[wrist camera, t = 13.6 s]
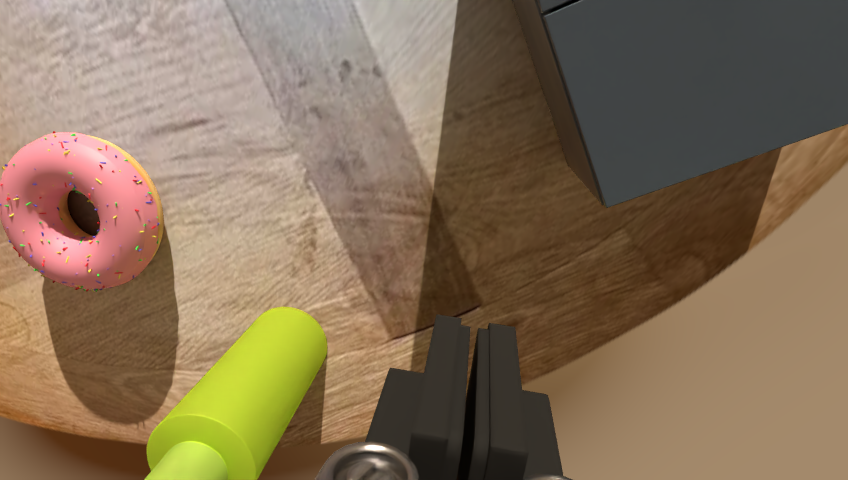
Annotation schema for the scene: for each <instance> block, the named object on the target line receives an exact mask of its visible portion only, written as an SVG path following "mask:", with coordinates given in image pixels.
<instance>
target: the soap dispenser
mask: <svg viewBox="0 0 848 480" xmlns="http://www.w3.org/2000/svg"><path fill="white" fill-rule="evenodd" d="M326 354H327V340H326V336H325V334H324V331H323V330H322V328H321V326H320V325H319V324H318V322H317V321H316V320H315V319H314V318H312V317H311V316H310V315H308V314H307V313H305V312H303V311H301V310H298V309H295V308H291V307H278V308H273V309H270V310H268V311H266V312H264V313H263V314H262V315H260V316H259V317H258V318H257V320H256V321H255V322H254V323H253V324H252V325H251V326H250V327H249V328H248V329H247V330H246V331H245V332H244V334H243V335H242V336H241V337H240V338H239V339H238V340H237V341H236V342H235V343H234V344H233V345H232V346H231V347H230V349H229V350H228V351H227V352H226V353H225V354H224V355H223V356H222V357H221V358H220V359H219V360H218V361H217V362H216V364H215V365H214V366H213V367H212V368H211V369H210V370H209V371H208V372H207V373H206V374H205V375H204V376H203V377H202V379H201V380H200V381H199V382H198V383H197V384H196V385H195V386H194V387H193V388H192V389H191V390H190V391H189V393H188V394H187V395H186V396H185V397H184V398H183V399H182V400H181V401H180V402H179V403H178V404H177V405H176V406H175V408H174V409H173V410H172V411H171V412H170V413H169V414H168V415H167V416H166V417H165V418H164V419H163V420H162V421H161V423H160V424H159V425H158V426H157V427H156V428H155V429H154V431H153V432H152V434H151V436H150V438H149V441H148V444H147V459H148V463H149V467H150V469H151V472H150V474H149V475H148V476H147V477H146V478H145V479H144V480H257V479H258V477H259V475H260V474H261V472H262V470H263V468H264V467H265V464H266V463H267V461H268V459H269V457H270V456H271V454H272V452H273V451H274V449H275V447H276V445H277V444H278V442H279V440H280V438H281V436H282V435H283V433H284V431H285V429H286V428H287V426H288V424H289V422H290V421H291V419H292V417H293V415H294V413H295V412H296V410H297V408H298V406H299V405H300V403H301V401H302V399H303V397H304V396H305V394H306V392H307V390H308V389H309V387H310V385H311V383H312V382H313V380H314V378H315V376H316V374H317V373H318V371H319V369H320V367H321V366H322V364H323V362H324V360H325V358H326Z"/></svg>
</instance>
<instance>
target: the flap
mask: <svg viewBox="0 0 848 480" xmlns="http://www.w3.org/2000/svg"><path fill="white" fill-rule="evenodd" d="M543 18H544V21H545V25H546V28H547V31H548V34H549V37H550V40H551V43H552V46H553V49H554V52H555V55H556V58H557V61H558V64H559V67H560V71H561V74H562V77H563V80H564V83H565V86H566V89H567V92H568V95H569V98H570V101H571V104H572V107H573V110H574V113H575V117H576V120H577V123H578V126H579V129H580V132H581V135H582V138H583V141H584V144H585V147H586V150H587V153H588V156H589V159H590V163H591V166H592V169H593V172H594V175H595V178H596V181H597V184H598V187H599V190H600V193H601V196H602V199H603V202H604V205H605V207H606V208H608V207H611V206H614V205H616V204H619V203H622V202H625V201H628V200H631V199H634V198H637V197H639V196H642V195H645V194H648V193H651V192H654V191H657V190H660V189H662V188H665V187H668V186H671V185H674V184H677V183H680V182H683V181H685V180H688V179H691V178H694V177H697V176H700V175H703V174H706V173H708V172H711V171H714V170H717V169H720V168H723V167H726V166H729V165H731V164H734V163H737V162H740V161H743V160H746V159H749V158H752V157H754V156H757V155H760V154H763V153H766V152H769V151H772V150H775V149H777V148H780V147H783V146H786V145H789V144H792V143H795V142H798V141H800V140H803V139H806V138H809V137H812V136H815V135H818V134H821V133H823V132H826V131H829V130H832V129H835V128H838V127H841V126H844V125H846V124H848V0H580V1H578V2H576V3H573V4H571V5H569V6H567V7H564V8H562V9H560V10H557V11H555V12H553V13H550V14H548V15H546V16H544V17H543Z"/></svg>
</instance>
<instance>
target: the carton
mask: <svg viewBox="0 0 848 480" xmlns="http://www.w3.org/2000/svg"><path fill="white" fill-rule="evenodd" d="M512 1H513V4H514V7H515V10H516V13H517V16H518V19H519V22H520V25H521V28H522V31H523V34H524V37H525V40H526V43H527V45H528V48H529V51H530V54H531V57H532V60H533V63H534V66H535V69H536V72H537V75H538V78H539V81H540V84H541V87H542V90H543V93H544V96H545V99H546V102H547V104H548V107H549V110H550V113H551V116H552V119H553V122H554V125H555V128H556V131H557V134H558V137H559V140H560V143H561V146H562V149H563V152H564V155H565V158H566V160H567V163H568V166H569V167H570V168H571V169H572V171H573V172H574V173H575V174H576V175H577V176H578V178H579V179H580V180H581V181H582V182H583V183H584V185H585V186H586V187H587V188H588V189H589V190H590V192H591V193H592V194H593V195H594V196H595V197H596V199H597V200H598V201H599V202H600V203H601V204H602V205H604V202H603V199H602V196H601V193H600V190H599V187H598V184H597V181H596V178H595V175H594V172H593V169H592V166H591V163H590V159H589V156H588V153H587V150H586V147H585V144H584V141H583V138H582V135H581V132H580V129H579V126H578V123H577V120H576V117H575V113H574V110H573V107H572V104H571V101H570V98H569V95H568V92H567V89H566V86H565V83H564V80H563V77H562V74H561V71H560V67H559V64H558V61H557V58H556V55H555V52H554V49H553V46H552V43H551V40H550V37H549V34H548V31H547V28H546V25H545V21H544V18H543V17H544V16H546V15H548V14H550V13H553V12H555V11H557V10H560V9H562V8H564V7H567V6H569V5H571V4H573V3H576V2H578V1H580V0H512Z"/></svg>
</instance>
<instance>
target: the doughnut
mask: <svg viewBox="0 0 848 480" xmlns="http://www.w3.org/2000/svg"><path fill="white" fill-rule="evenodd" d="M5 166H6V168H4V167H2V168H3V169H4V172H3V175H2V178H1V181H0V218H1V221H2V224H3V227H4V230H5V232H6V234H7V236H8V238H9V242H10V243H12V245H13V246H14V247H13V248H14V249H15V250H16V251H17V252H18V253H19V257H20V256H22V258H23V259H24V260H25V261H26V262H27V263H28V266H30V265H31V266H32V267H33V268H34V271H36V270H37V271H38V272H40V273H41V274H42V275H41V276H46V277H48V278H50V279H52V280H54V281H53V283H54V282H55V281H56V282H58V283H61V284H63V285H67V286H70V287H75V288H76V289H75V290H77V289H79V288H80V289H83V290H84V291H88V290H89V289H92V291H93V292H94V291H96V292H97V290H98V289H100V290H102V289H103V288H112V287H113V286H118V285H121V284H124V283H126V282H128V281H130V280H132V279H134V278H135V277H136V276H138V275H139V274H140V273H141V272H142V271H143V270H144V269H145V267H146V266H147V265H148V264H149V262H150V261H151V260H152V258H153V257H154V255H155V254H156V252H157V250H158V248H159V245H160V242H161V239H162V234H163V226H164V219H163V210H162V205H161V201H160V198H159V195H158V192H157V190H156V188H155V186H154V184H153V182H152V180H151V179H150V177H149V176H148V174H147V173H146V171H145V170H144V169H143V168H142V167H141V165H140V164H139V163H138V162H137V161H136V160H135V159H134V158H133V157H131V156H130V155H129V154H128V153H126V152H125V151H124V150H122V149H121V148H119V147H117V146H116V145H114V144H112V143H110V142H108V141H105V140H103V139H100V138H97V137H93V136H89V135H84V134H81V133H74V132H62V133H55V131H53V134H48V135H45V136H43V137H41V138H39V139H37V140H35V141H33V142H31V143H29V144H28V145H25V146H24V147H23V148H22V149H21V150H20V151H18V152H17V153H16V154H15V155H14V157H13V158H12V159H11V160H10V162H9V163H8V165H6V164H5ZM71 190H73V191H74V190H77V191H75V192H76V193H77V192H79V193H80V194H84V195H85V196H87V197H88V198H89V200H87V202H89V201H90V202H91V203H93V205H94V206H95V208H96V209H94V210H97V212H98V215H99V219H100V223H99V222H97V223H98V224H100V229H98V230H97V231H98V232H97V233H98V234H97V235H95V236H92V235H89V234H87V233H85V232H84V231H82V230H81V229H80V228H79V227H78V226H77V225H76V224H75V222H74V221H73V219H72V218H71V216H70V213H69V210H68V205H67V199H68V194H69V192H70V191H71ZM85 289H87V290H85ZM93 289H94V290H93Z"/></svg>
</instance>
